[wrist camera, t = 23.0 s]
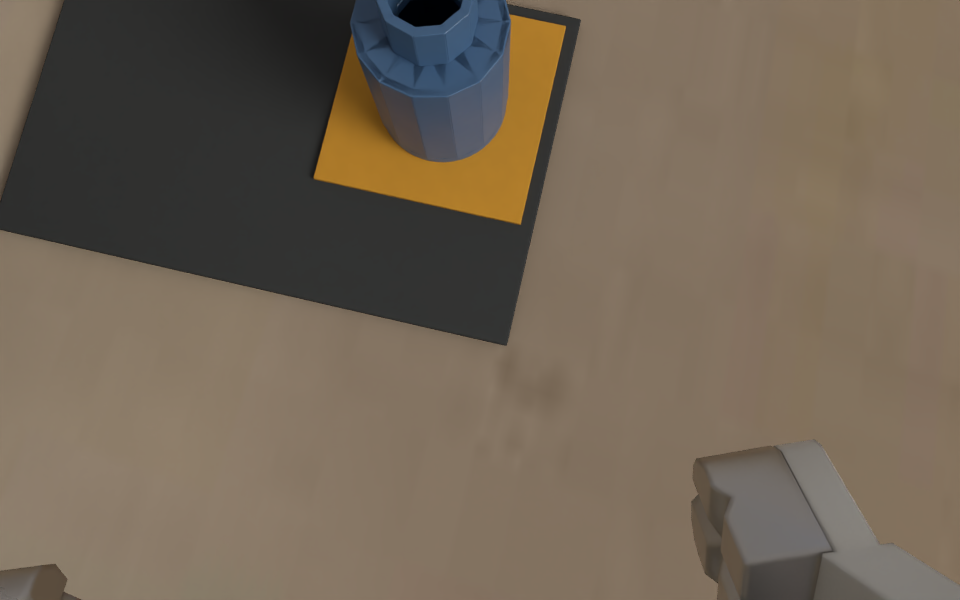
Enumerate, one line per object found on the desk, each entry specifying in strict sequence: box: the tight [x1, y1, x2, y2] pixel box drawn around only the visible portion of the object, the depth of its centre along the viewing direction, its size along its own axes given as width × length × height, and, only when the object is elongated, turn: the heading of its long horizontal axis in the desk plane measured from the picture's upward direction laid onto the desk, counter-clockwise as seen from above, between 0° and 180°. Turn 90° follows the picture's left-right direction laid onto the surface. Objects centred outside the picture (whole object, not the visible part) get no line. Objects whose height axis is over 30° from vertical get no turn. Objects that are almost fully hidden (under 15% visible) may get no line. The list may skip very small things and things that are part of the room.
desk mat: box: [0, 0, 581, 346], centre depth 32 cm, size 20×13×1 cm, turn 77°
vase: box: [350, 0, 511, 162], centre depth 28 cm, size 5×5×8 cm
